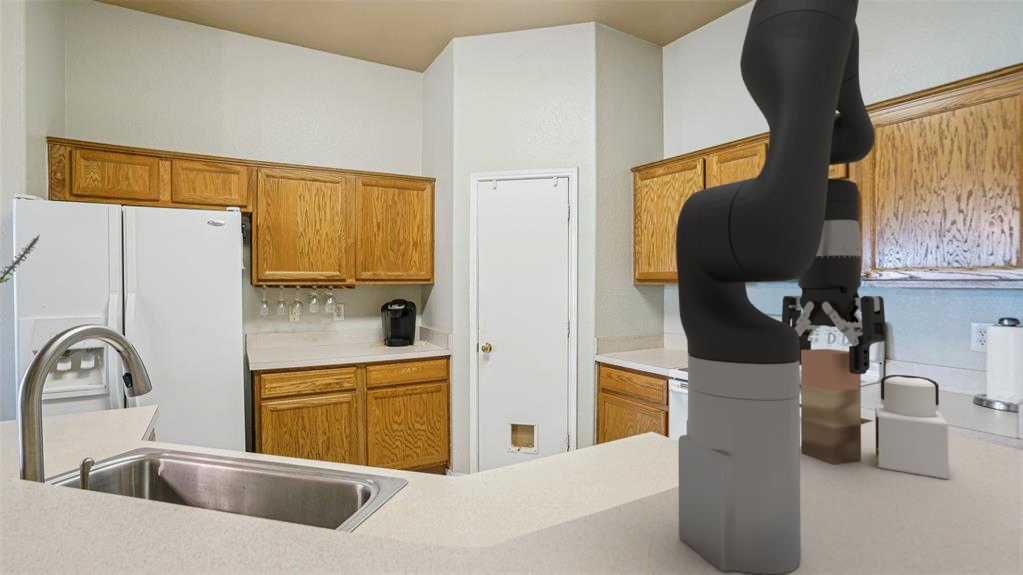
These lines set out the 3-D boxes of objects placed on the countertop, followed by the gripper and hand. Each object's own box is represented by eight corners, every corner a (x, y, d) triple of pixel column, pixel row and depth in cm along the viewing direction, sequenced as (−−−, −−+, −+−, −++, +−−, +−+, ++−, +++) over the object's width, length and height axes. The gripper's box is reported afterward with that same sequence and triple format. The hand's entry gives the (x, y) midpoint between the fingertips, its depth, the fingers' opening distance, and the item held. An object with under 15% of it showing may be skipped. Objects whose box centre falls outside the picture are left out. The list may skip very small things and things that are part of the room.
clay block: (860, 389, 67) (860, 352, 67) (832, 390, 66) (832, 354, 66) (828, 382, 72) (827, 348, 72) (801, 384, 70) (801, 349, 70)
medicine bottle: (875, 453, 70) (874, 370, 70) (941, 464, 66) (940, 375, 66) (877, 468, 64) (876, 377, 64) (949, 480, 60) (948, 383, 60)
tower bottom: (832, 465, 65) (832, 427, 65) (801, 453, 70) (801, 418, 70) (861, 461, 67) (860, 425, 67) (828, 450, 72) (828, 416, 72)
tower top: (832, 427, 65) (832, 390, 66) (801, 418, 70) (801, 384, 70) (860, 425, 67) (860, 389, 67) (828, 416, 72) (827, 382, 72)
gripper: (900, 251, 63) (901, 376, 63) (806, 259, 77) (806, 361, 77) (856, 250, 61) (856, 378, 61) (767, 258, 75) (768, 363, 75)
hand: (828, 369), depth 69 cm, fingers open, 8 cm apart
